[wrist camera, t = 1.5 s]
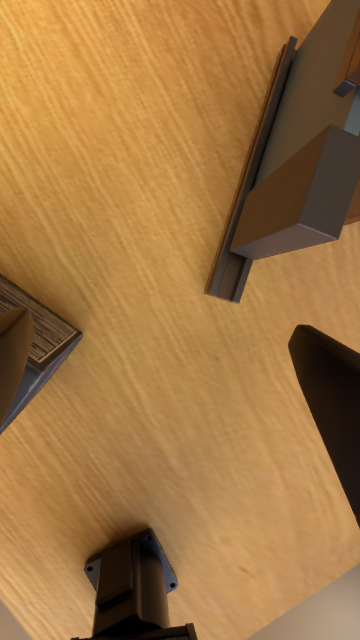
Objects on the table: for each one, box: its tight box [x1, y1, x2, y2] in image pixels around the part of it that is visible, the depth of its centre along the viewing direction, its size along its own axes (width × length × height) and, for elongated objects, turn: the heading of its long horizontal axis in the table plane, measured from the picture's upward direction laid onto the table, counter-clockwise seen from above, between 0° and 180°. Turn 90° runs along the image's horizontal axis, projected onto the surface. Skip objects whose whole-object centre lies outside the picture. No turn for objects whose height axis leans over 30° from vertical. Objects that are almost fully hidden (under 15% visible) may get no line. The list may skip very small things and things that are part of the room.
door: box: [229, 0, 360, 260], centre depth 17 cm, size 16×2×10 cm, turn 163°
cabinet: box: [204, 7, 360, 303], centre depth 18 cm, size 20×10×13 cm, turn 163°
